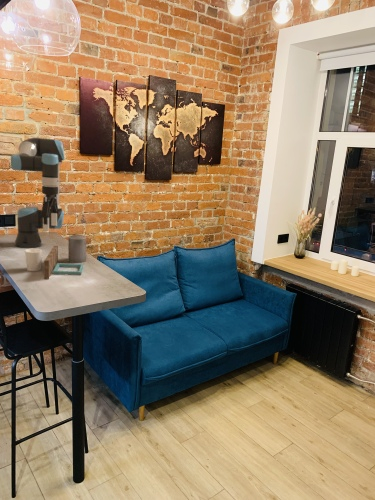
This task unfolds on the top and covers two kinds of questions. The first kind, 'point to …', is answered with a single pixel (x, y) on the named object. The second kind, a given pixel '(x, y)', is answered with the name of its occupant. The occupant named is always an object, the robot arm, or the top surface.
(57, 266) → the keeper frame
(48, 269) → the brown wooden board
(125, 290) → the top surface
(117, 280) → the top surface
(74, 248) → the pillar candle
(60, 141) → the robot arm
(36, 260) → the white cup
